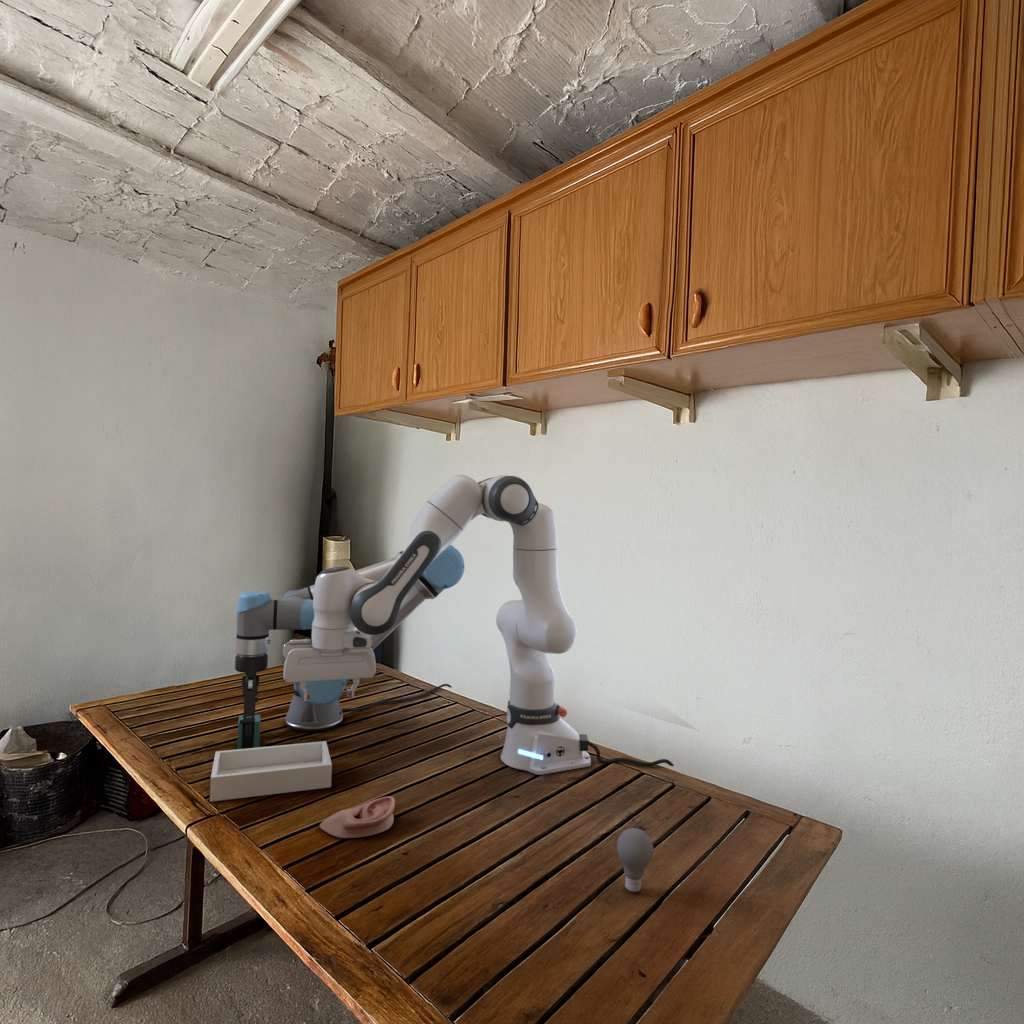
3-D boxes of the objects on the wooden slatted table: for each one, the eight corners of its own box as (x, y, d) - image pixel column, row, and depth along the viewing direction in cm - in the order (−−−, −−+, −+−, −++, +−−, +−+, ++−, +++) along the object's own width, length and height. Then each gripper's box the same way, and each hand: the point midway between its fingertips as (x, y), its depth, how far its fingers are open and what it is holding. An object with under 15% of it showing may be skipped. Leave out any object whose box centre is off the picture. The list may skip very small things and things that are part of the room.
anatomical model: (312, 812, 119) (340, 786, 130) (311, 833, 119) (340, 805, 130) (378, 823, 116) (401, 795, 127) (377, 844, 116) (401, 814, 127)
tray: (209, 801, 130) (210, 777, 129) (214, 773, 143) (215, 751, 142) (331, 787, 138) (332, 764, 138) (325, 761, 151) (326, 740, 151)
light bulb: (610, 878, 109) (613, 821, 108) (645, 878, 109) (647, 821, 109) (619, 901, 103) (622, 840, 103) (655, 900, 103) (658, 839, 103)
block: (238, 743, 160) (239, 716, 160) (259, 741, 161) (260, 714, 161) (237, 751, 155) (238, 723, 155) (259, 749, 157) (260, 721, 157)
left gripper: (268, 666, 148) (264, 756, 148) (267, 642, 171) (264, 720, 171) (233, 667, 145) (229, 759, 145) (237, 643, 168) (234, 722, 168)
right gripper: (283, 643, 137) (280, 706, 137) (378, 639, 145) (375, 699, 145) (282, 636, 143) (280, 697, 143) (374, 633, 151) (371, 691, 151)
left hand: (248, 738), depth 158 cm, fingers open, 13 cm apart
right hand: (329, 698), depth 144 cm, fingers open, 8 cm apart
